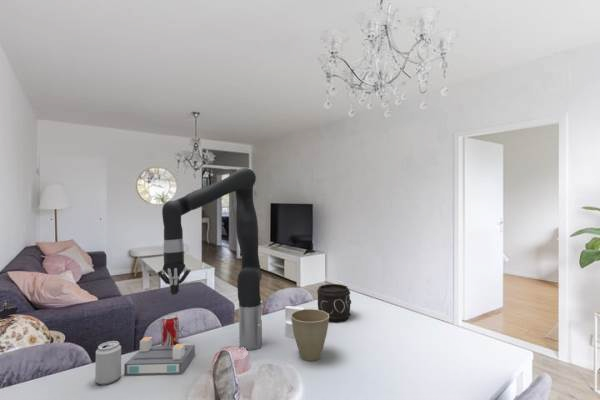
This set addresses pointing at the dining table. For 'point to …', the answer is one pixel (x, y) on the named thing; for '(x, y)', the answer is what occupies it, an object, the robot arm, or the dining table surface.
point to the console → (158, 361)
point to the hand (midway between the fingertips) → (174, 294)
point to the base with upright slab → (290, 320)
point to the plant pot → (310, 332)
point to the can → (108, 362)
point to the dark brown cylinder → (334, 301)
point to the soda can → (170, 330)
